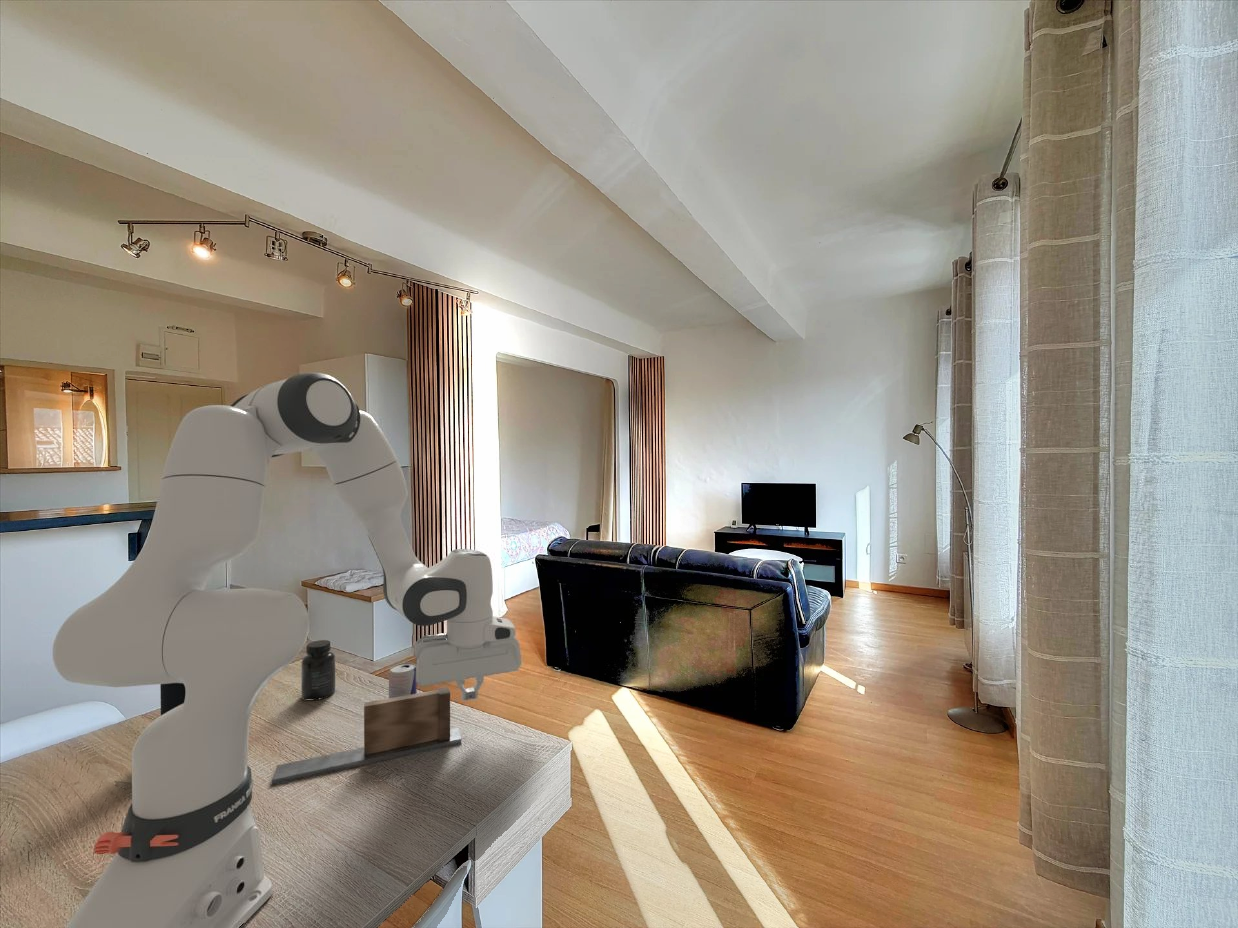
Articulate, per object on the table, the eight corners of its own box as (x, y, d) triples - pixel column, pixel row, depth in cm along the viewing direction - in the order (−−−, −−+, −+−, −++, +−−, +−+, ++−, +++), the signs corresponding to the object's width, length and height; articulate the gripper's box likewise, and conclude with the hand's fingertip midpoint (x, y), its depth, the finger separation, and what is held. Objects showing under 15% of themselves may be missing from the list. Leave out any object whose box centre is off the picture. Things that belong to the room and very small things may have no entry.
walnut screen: (448, 730, 100) (448, 686, 100) (450, 738, 98) (450, 692, 97) (364, 748, 94) (364, 700, 94) (363, 757, 91) (363, 708, 91)
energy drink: (421, 718, 107) (421, 662, 107) (408, 732, 102) (408, 673, 101) (397, 717, 107) (397, 661, 107) (383, 730, 102) (383, 672, 102)
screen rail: (458, 731, 102) (458, 727, 102) (461, 743, 98) (461, 738, 98) (277, 770, 89) (277, 765, 89) (271, 784, 85) (271, 779, 85)
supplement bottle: (302, 691, 119) (302, 641, 119) (335, 685, 122) (335, 636, 122) (300, 703, 113) (299, 651, 113) (334, 697, 116) (334, 645, 116)
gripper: (414, 642, 93) (414, 716, 93) (523, 628, 101) (523, 695, 101) (413, 631, 99) (413, 701, 99) (516, 618, 107) (516, 683, 107)
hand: (469, 698), depth 100 cm, fingers closed
